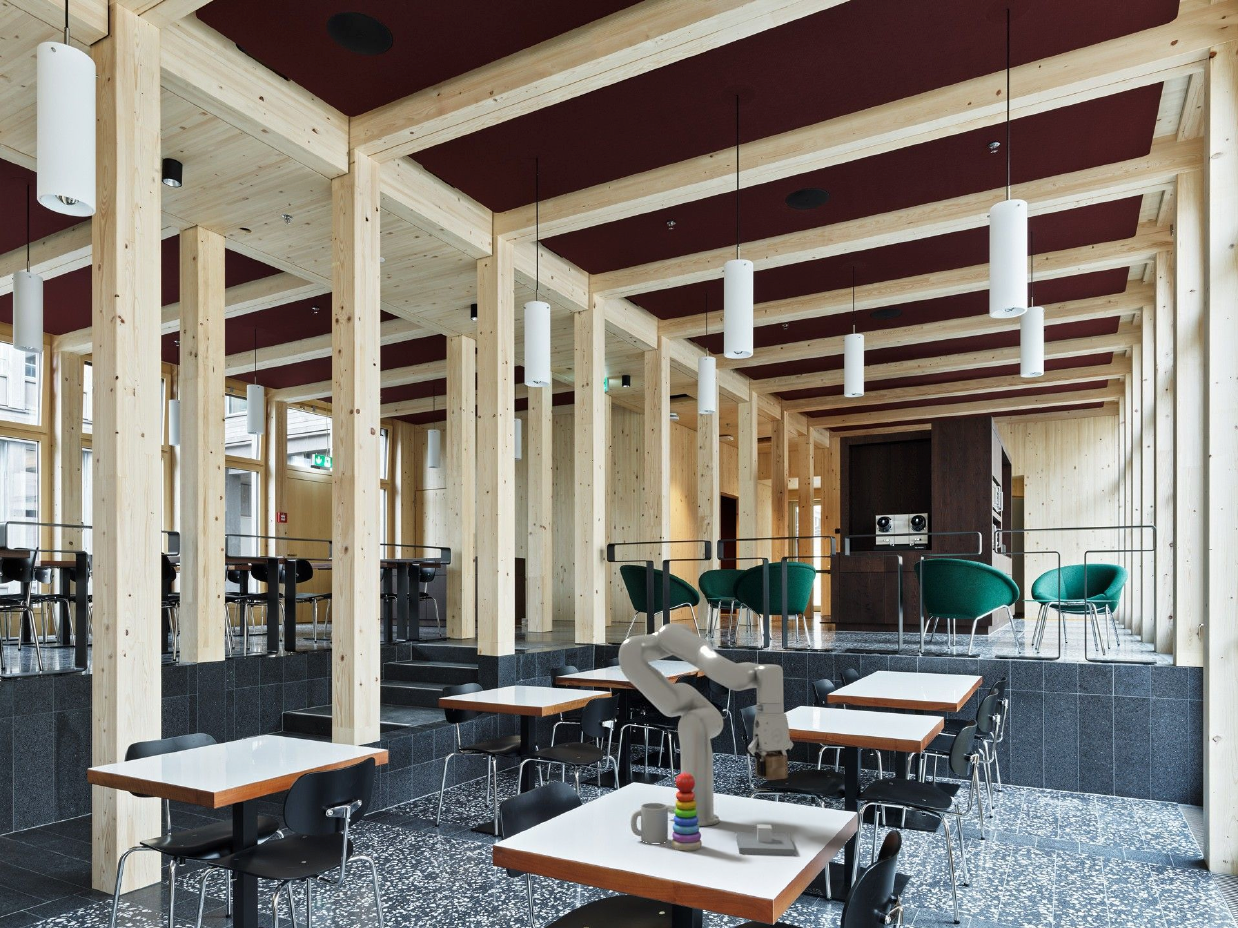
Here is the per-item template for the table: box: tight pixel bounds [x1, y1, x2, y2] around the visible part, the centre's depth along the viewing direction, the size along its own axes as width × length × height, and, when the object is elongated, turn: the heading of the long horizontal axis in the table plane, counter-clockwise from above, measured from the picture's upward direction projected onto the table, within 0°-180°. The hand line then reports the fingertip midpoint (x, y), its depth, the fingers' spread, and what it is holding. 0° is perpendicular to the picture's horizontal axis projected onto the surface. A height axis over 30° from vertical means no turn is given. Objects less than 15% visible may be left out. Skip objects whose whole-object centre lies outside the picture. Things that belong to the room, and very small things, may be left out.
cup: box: [630, 802, 669, 844], centre depth 232 cm, size 7×10×9 cm
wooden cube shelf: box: [754, 751, 789, 781], centre depth 244 cm, size 6×6×6 cm
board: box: [735, 823, 796, 856], centre depth 227 cm, size 14×15×5 cm
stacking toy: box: [671, 772, 703, 851], centre depth 227 cm, size 8×8×19 cm
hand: (771, 773), depth 244 cm, fingers closed on wooden cube shelf, 6 cm apart
